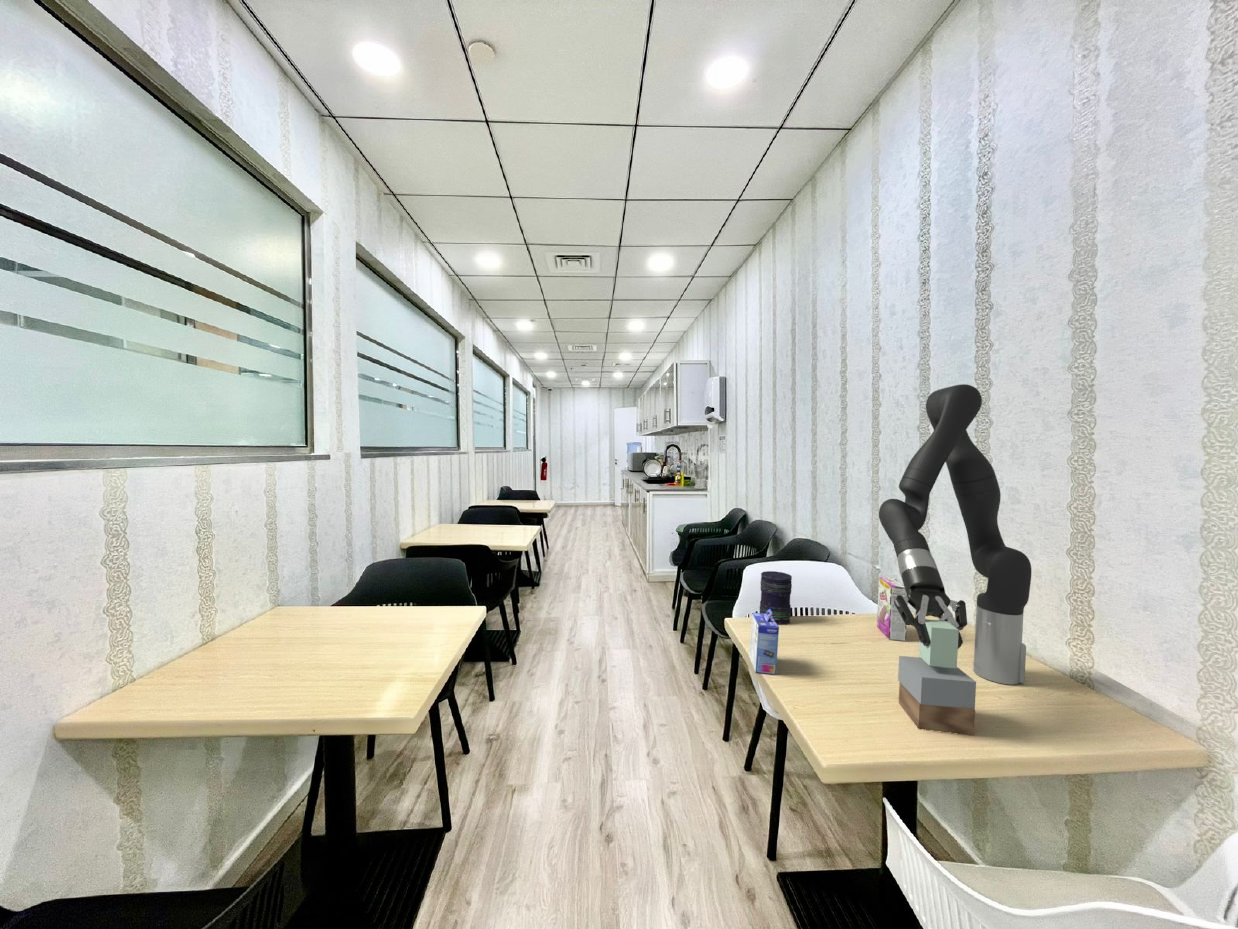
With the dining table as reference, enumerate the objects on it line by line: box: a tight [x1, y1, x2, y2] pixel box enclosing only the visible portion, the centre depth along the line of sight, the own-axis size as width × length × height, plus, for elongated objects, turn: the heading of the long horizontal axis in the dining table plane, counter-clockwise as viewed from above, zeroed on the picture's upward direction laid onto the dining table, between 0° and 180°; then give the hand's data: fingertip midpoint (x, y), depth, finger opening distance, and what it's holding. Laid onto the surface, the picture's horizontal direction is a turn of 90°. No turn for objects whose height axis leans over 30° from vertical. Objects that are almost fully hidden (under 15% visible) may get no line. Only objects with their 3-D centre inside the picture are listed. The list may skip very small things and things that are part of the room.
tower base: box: [898, 682, 976, 737], centre depth 98 cm, size 10×10×6 cm
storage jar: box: [759, 570, 793, 626], centre depth 155 cm, size 10×10×15 cm
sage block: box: [918, 618, 960, 668], centre depth 98 cm, size 5×5×8 cm
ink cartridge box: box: [748, 609, 780, 675], centre depth 121 cm, size 10×6×14 cm, turn 174°
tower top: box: [897, 655, 977, 710], centre depth 98 cm, size 10×10×6 cm
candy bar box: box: [876, 576, 908, 642], centre depth 145 cm, size 11×5×16 cm, turn 168°
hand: (942, 645), depth 96 cm, fingers closed on sage block, 5 cm apart
